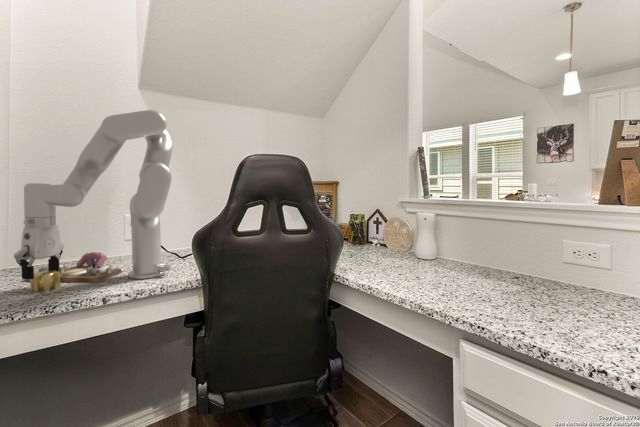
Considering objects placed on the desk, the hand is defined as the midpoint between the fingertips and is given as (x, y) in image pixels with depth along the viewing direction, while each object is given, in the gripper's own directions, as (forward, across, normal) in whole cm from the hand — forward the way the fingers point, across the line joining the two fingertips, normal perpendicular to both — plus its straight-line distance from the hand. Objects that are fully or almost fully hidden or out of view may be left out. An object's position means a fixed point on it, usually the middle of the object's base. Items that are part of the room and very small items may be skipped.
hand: (41, 274), depth 103 cm
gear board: (+4, +14, -1) cm, 14 cm away
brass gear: (+5, +1, -1) cm, 5 cm away
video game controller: (+4, +28, +3) cm, 28 cm away
